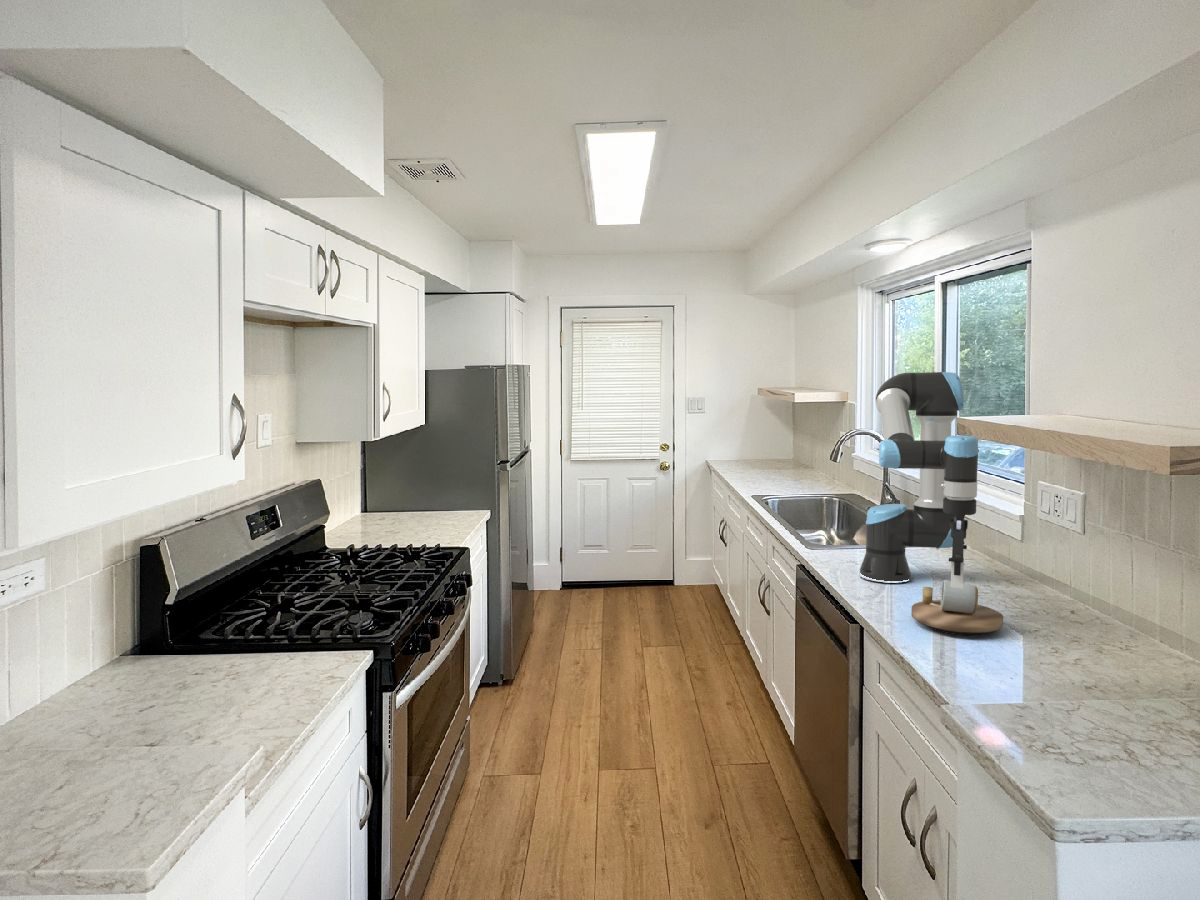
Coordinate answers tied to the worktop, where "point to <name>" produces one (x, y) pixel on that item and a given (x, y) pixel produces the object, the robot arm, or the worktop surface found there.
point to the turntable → (955, 616)
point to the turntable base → (956, 631)
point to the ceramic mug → (959, 598)
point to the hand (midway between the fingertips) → (957, 580)
